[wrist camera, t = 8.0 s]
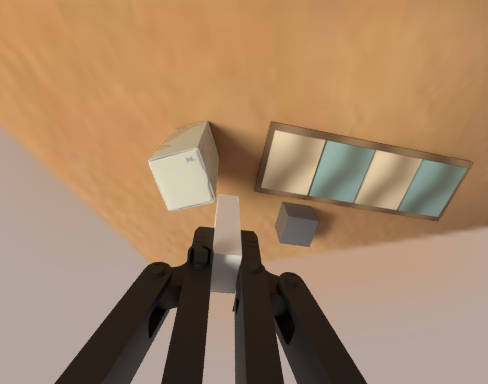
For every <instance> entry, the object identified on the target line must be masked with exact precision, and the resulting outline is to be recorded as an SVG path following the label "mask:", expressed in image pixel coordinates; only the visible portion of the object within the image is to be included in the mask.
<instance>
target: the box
mask: <svg viewBox="0 0 488 384" xmlns="http://www.w3.org/2000/svg"><path fill="white" fill-rule="evenodd" d="M148 163H149V165H150V168H151V170H152V173H153V176H154V178H155V180H156V183H157V185H158V187H159V190H160V192H161V194H162V197H163V199H164V201H165V203H166V205H167V207H168V210H169V211H174V210H179V209H185V208H189V207H194V206H199V205H204V204H208V203H213V202H214V201H215V198H216V188H217V176H218V165H219V156H218V152H217V148H216V145H215V141H214V138H213V135H212V132H211V128H210V125H209V122H208V121H205V122H200V123H195V124H191V125H187V126H184V127H180V128H177V129H174V130H173V132H172V133H171V134H170V135H169V137H168V138H167V139H166V140H165V141H164V143H163V144H162V145H161V146H160V147H159V149H158V150H157V151H156V152H155V153H154V155H153V156H152V157H151V158H150V160H149V161H148Z"/></svg>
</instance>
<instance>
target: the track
mask: <svg viewBox="0 0 488 384" xmlns="http://www.w3.org/2000/svg"><path fill="white" fill-rule="evenodd" d="M472 164H473V162H470V161H466V160H461V159H457V158H452V157H447V156H442V155H437V154H432V153H427V152H422V151H417V150H412V149H407V148H402V147H397V146H392V145H387V144H382V143H377V142H372V141H367V140H362V139H357V138H352V137H347V136H342V135H337V134H332V133H327V132H322V131H317V130H312V129H307V128H302V127H297V126H292V125H287V124H282V123H277V122H272V121H271V122H270V127H269V131H268V135H267V139H266V143H265V147H264V152H263V156H262V160H261V164H260V168H259V173H258V177H257V181H256V185H255V189H254V190H255V192H261V193H267V194H273V195H279V196H285V197H291V198H298V199H304V200H310V201H316V202H322V203H328V204H334V205H341V206H347V207H353V208H359V209H365V210H371V211H377V212H384V213H390V214H396V215H402V216H408V217H414V218H420V219H427V220H433V221H438V220H439V218H440V217H441V215H442V213H443V212H444V210H445V209H446V207H447V205H448V204H449V202H450V200H451V199H452V197H453V195H454V194H455V192H456V190H457V189H458V187H459V185H460V184H461V182H462V180H463V179H464V177H465V175H466V174H467V172H468V170H469V169H470V167H471V166H472Z"/></svg>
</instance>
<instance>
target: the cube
mask: <svg viewBox="0 0 488 384" xmlns="http://www.w3.org/2000/svg"><path fill="white" fill-rule="evenodd" d="M318 223H319V220H318V218H317V217H316V215H315V213H314V212H313V210H312V208H311V207H310V206H306V205H300V204H294V203H287V202H282V205H281V208H280V212H279V215H278V218H277V222H276V225H275V227H276V231H277V234H278V238H279V241H280V243H284V244H292V245H299V246H306V247H310V244H311V241H312V239H313V236H314V233H315V231H316V228H317V226H318Z"/></svg>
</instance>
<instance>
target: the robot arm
mask: <svg viewBox="0 0 488 384" xmlns="http://www.w3.org/2000/svg"><path fill="white" fill-rule="evenodd" d="M235 289H236V297H235V302H234V306H233V311H235V384H284V380H283V374H282V368H281V362H280V356H279V350H278V344H277V337H276V333H277V335H278V338H279V340H280V343H281V345H282V347H283V350H284V352H285V355H286V357H287V360H288V362H289V365H290V367H291V369H292V372H293V374H294V377H295V379H296V382H297V384H367V383H366V381H365V379H364V378H363V376H362V375H361V373H360V371H359V370H358V368H357V367H356V365H355V363H354V362H353V360H352V358H351V357H350V355H349V354H348V352H347V351H346V349H345V347H344V346H343V344H342V342H341V341H340V339H339V338H338V336H337V334H336V333H335V331H334V329H333V328H332V326H331V325H330V323H329V321H328V320H327V318H326V317H325V315H324V314H323V312H322V310H321V309H320V307H319V305H318V304H317V302H316V300H315V299H314V297H313V296H312V294H311V292H310V291H309V289H308V288H307V286H306V284H305V283H304V281H303V280H302V279H301V277H300V276H298V275H297V274H294V273H291V272H285V273H282V274H281V275H280V276H277V275H274V274H271V273H269V272H268V271H266V270H265V267H264V266H263V265H262V263H261V257H260V250H259V244H258V237H257V235H256V234H255V233H254V231H245V230H241V229H240V212H239V196H234V195H226V194H218V201H217V209H216V217H215V226H214V228H210V227H200V226H199V227H198V228H197V229H196V231H195V234H194V239H193V243H192V246H191V247H190V248H189V250H188V258H187V262H186V263H185V264H183V265H181V266H178V267H172V268H171V267H170V266H169V264H167V263H164V262H155V263H152V264H150V265H148V266H147V267H146V268H145V269H144V270H143V272H142V273H141V274H140V275H139V277H138V278H137V279H136V281H135V282H134V283H133V284H132V286H131V287H130V288H129V290H128V291H127V292H126V293H125V295H124V296H123V297H122V299H121V300H120V301H119V302H118V303H117V305H116V306H115V307H114V309H113V310H112V311H111V313H110V314H109V315H108V316H107V317H106V319H105V320H104V321H103V323H102V324H101V325H100V326H99V328H98V329H97V330H96V331H95V333H94V334H93V335H92V337H91V338H90V339H89V340H88V342H87V343H86V344H85V345H84V347H83V348H82V349H81V351H80V352H79V353H78V354H77V356H76V357H75V358H74V359H73V361H72V362H71V363H70V365H69V366H68V367H67V369H66V370H65V371H64V372H63V373H62V375H61V376H60V378H59V379H58V380H57V381H56V382H55V384H130V383H131V381H132V379H133V377H134V375H135V374H136V372H137V370H138V368H139V366H140V364H141V363H142V361H143V359H144V357H145V355H146V353H147V351H148V350H149V348H150V346H151V344H152V342H153V340H154V338H155V337H156V335H157V333H158V331H159V329H160V327H161V325H162V324H163V322H164V320H165V318H166V316H167V314H168V313H169V310H170V309H172V308H176V307H178V308H177V313H176V317H175V322H174V327H173V331H172V336H171V341H170V345H169V350H168V355H167V360H166V364H165V369H164V373H163V378H162V383H161V384H202V378H203V368H204V356H205V345H206V333H207V322H208V321H207V320H208V310H209V299H210V292H221V293H235ZM275 330H276V331H275Z"/></svg>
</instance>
